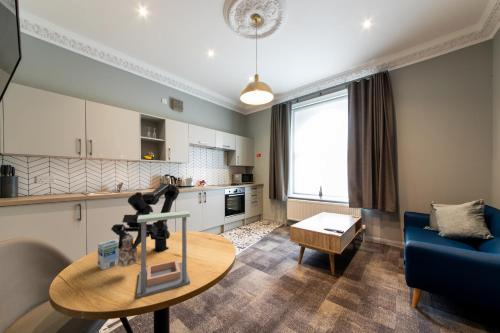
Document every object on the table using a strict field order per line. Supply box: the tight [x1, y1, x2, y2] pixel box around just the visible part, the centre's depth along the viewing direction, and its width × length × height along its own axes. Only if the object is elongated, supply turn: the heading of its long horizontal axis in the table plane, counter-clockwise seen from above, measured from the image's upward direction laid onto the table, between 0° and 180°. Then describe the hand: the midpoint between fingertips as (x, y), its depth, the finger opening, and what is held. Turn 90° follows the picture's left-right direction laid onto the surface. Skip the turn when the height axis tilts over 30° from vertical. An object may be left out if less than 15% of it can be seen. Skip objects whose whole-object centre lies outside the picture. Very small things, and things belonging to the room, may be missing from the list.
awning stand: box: [136, 210, 191, 299], centre depth 78 cm, size 18×18×27 cm
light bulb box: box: [97, 237, 120, 271], centre depth 91 cm, size 11×7×11 cm, turn 148°
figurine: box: [117, 232, 139, 268], centre depth 81 cm, size 7×7×12 cm
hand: (126, 248), depth 79 cm, fingers closed on figurine, 6 cm apart
